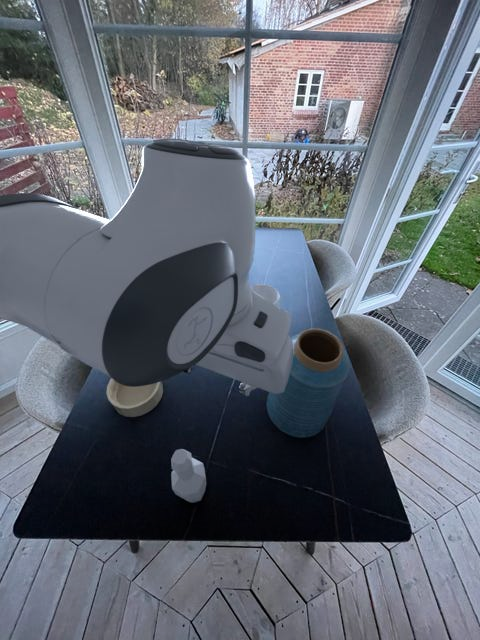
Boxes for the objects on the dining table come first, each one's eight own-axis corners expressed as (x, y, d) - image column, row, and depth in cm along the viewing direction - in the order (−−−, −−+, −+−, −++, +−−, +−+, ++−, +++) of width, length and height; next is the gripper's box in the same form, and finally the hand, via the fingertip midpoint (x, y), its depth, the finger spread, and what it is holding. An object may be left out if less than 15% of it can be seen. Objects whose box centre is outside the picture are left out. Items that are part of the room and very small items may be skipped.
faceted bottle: (211, 475, 59) (203, 438, 43) (206, 509, 55) (195, 481, 39) (183, 472, 60) (165, 434, 44) (175, 506, 55) (153, 477, 39)
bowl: (144, 426, 67) (138, 416, 63) (102, 407, 70) (94, 396, 66) (172, 383, 75) (169, 372, 71) (134, 368, 79) (129, 357, 75)
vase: (338, 433, 66) (380, 374, 47) (275, 445, 64) (293, 388, 45) (313, 377, 78) (340, 312, 58) (259, 386, 75) (268, 320, 56)
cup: (240, 358, 82) (242, 307, 66) (240, 333, 89) (242, 282, 74) (274, 358, 82) (284, 307, 67) (271, 333, 89) (279, 282, 74)
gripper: (115, 304, 30) (144, 372, 40) (292, 362, 25) (274, 424, 35) (148, 274, 34) (167, 343, 44) (306, 318, 29) (287, 385, 39)
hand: (215, 379), depth 39 cm, fingers open, 8 cm apart
